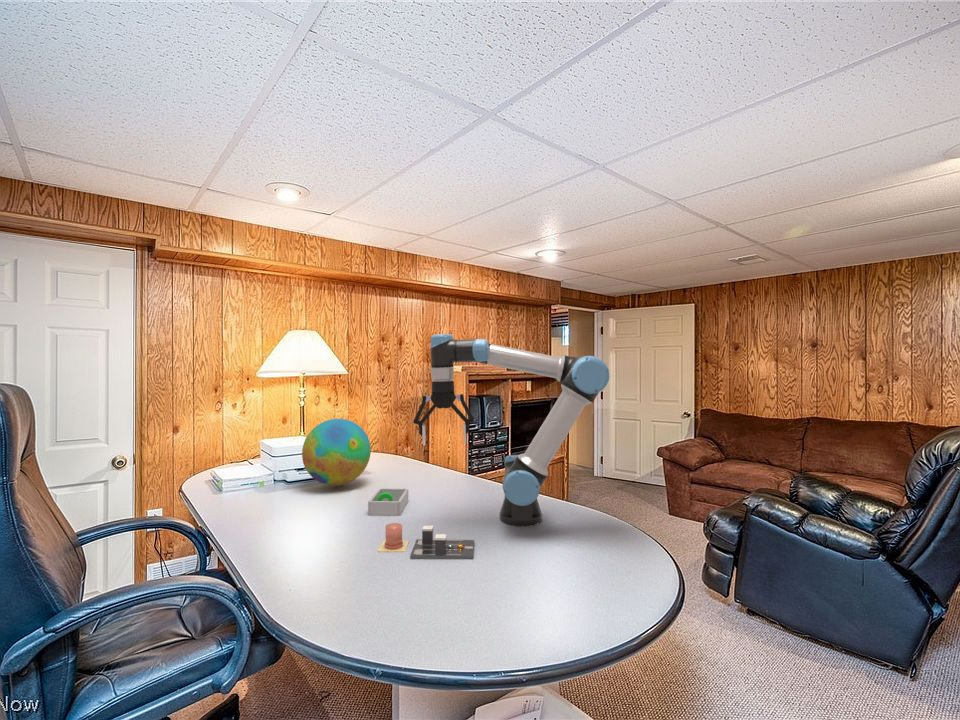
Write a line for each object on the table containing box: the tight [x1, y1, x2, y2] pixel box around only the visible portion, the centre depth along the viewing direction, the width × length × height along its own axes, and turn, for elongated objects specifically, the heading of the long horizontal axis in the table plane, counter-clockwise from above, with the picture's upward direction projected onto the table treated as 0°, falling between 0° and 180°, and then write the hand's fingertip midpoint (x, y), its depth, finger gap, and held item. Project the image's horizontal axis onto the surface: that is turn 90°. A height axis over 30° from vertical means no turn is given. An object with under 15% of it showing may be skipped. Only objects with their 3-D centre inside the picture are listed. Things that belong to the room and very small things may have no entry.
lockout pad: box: [377, 540, 410, 553], centre depth 142 cm, size 8×8×1 cm
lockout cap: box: [385, 522, 404, 549], centre depth 142 cm, size 6×6×6 cm
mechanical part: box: [378, 492, 393, 501], centre depth 182 cm, size 12×6×8 cm, turn 102°
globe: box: [301, 418, 372, 487], centre depth 214 cm, size 30×30×30 cm
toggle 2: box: [434, 533, 447, 554], centre depth 136 cm, size 3×3×5 cm
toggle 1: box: [421, 525, 434, 544], centre depth 143 cm, size 3×3×5 cm
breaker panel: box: [409, 538, 475, 560], centre depth 139 cm, size 18×12×2 cm, turn 89°
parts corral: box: [367, 487, 409, 517], centre depth 181 cm, size 12×18×5 cm, turn 179°
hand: (444, 443), depth 157 cm, fingers open, 13 cm apart
